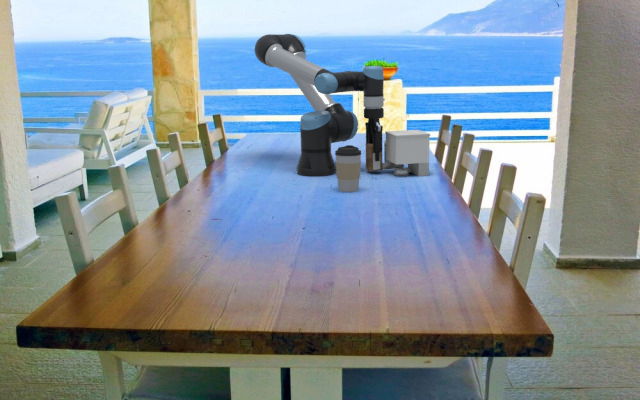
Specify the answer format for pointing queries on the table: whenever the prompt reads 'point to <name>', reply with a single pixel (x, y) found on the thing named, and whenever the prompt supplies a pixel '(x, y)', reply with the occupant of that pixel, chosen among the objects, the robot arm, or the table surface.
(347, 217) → the table surface
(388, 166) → the wood grain block
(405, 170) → the silver shallow dome
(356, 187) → the coffee cup
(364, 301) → the table surface
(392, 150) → the cabinet
